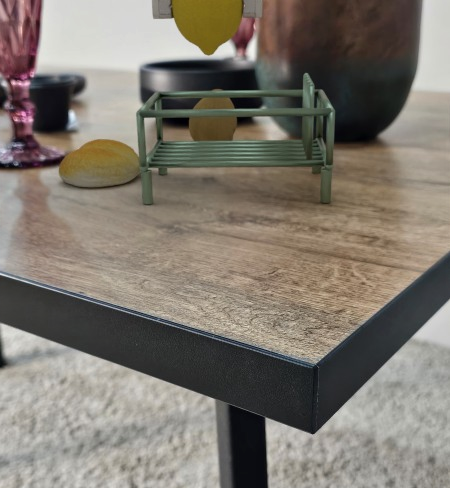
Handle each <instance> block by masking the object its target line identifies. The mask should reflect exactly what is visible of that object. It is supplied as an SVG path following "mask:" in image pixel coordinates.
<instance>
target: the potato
mask: <svg viewBox="0 0 450 488" xmlns="http://www.w3.org/2000/svg"><path fill="white" fill-rule="evenodd" d="M211 91H224V89H221V88H215V89H214V88H213V89H212V90H211ZM192 109H236V108H235V105H234V103H233V102H232V100H231V97H230V98H201V99H200V100H199V101H197V103H196V104H195V106H194V107H193V108H192ZM237 126H238V117H189V120H188V131H189V135H190V137H191V139H192V141H234V135H235V133H236V130H237Z"/></svg>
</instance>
